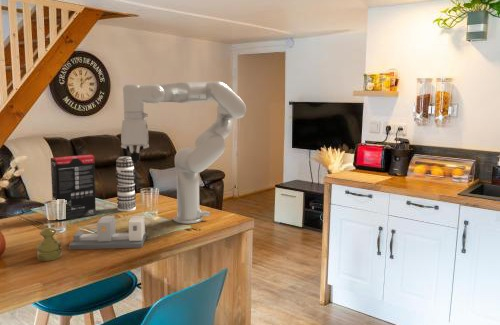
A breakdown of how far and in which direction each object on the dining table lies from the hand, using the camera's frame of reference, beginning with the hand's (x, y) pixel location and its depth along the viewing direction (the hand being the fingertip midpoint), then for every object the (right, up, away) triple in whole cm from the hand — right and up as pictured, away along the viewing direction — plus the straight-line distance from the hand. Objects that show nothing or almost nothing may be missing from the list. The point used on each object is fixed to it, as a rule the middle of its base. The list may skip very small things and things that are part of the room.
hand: (135, 162), depth 169 cm
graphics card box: (-32, -24, +19) cm, 44 cm away
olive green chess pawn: (-21, -32, -27) cm, 47 cm away
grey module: (-7, -28, -13) cm, 31 cm away
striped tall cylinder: (-13, -22, +33) cm, 42 cm away
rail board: (-6, -29, -13) cm, 33 cm away
